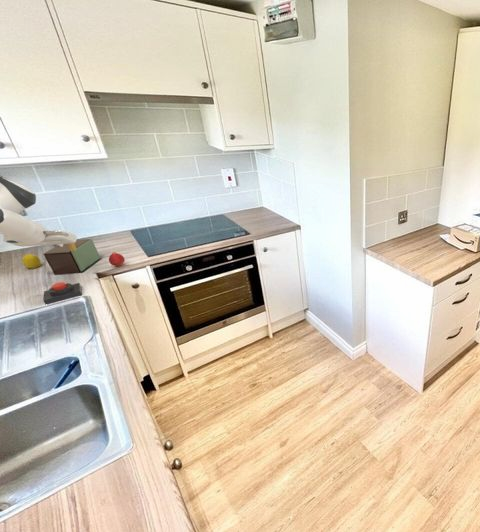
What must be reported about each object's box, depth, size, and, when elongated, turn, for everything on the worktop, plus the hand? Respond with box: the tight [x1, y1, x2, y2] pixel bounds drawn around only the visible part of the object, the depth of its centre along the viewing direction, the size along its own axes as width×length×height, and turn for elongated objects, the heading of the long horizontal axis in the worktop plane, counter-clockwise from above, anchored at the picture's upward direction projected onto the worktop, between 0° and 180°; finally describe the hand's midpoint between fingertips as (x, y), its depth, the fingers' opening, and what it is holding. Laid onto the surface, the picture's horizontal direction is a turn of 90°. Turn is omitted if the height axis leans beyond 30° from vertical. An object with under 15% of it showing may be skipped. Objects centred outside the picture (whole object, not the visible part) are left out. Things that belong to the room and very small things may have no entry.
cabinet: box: [43, 238, 103, 276], centre depth 156 cm, size 16×11×11 cm
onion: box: [108, 251, 126, 267], centre depth 157 cm, size 6×6×8 cm
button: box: [51, 281, 67, 291], centre depth 133 cm, size 4×4×2 cm
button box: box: [42, 282, 83, 306], centre depth 134 cm, size 11×9×4 cm
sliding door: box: [68, 238, 101, 271], centre depth 155 cm, size 15×1×15 cm, turn 13°
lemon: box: [21, 253, 42, 269], centre depth 153 cm, size 6×6×8 cm
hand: (59, 245), depth 141 cm, fingers closed
